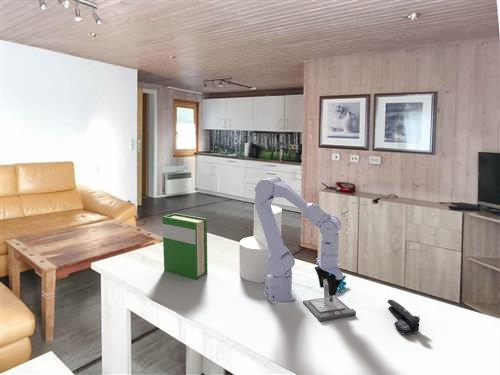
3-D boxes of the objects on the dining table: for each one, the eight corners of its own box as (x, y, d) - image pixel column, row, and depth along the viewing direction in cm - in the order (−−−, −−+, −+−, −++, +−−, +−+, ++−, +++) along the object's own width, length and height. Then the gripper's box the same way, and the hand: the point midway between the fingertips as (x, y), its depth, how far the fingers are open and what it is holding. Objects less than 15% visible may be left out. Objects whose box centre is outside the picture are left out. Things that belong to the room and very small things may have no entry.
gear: (333, 292, 131) (322, 267, 137) (323, 298, 135) (313, 274, 140) (353, 288, 138) (342, 265, 143) (343, 295, 141) (332, 271, 147)
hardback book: (207, 273, 151) (206, 218, 147) (196, 280, 145) (195, 222, 141) (176, 265, 160) (174, 213, 156) (164, 270, 154) (162, 216, 150)
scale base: (320, 322, 114) (320, 316, 114) (302, 302, 127) (302, 298, 126) (355, 316, 118) (356, 311, 118) (335, 298, 130) (335, 293, 130)
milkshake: (318, 301, 125) (319, 274, 123) (332, 300, 126) (334, 273, 124) (322, 307, 120) (323, 279, 119) (337, 306, 121) (339, 278, 120)
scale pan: (320, 313, 118) (320, 311, 118) (309, 302, 125) (309, 300, 125) (345, 309, 121) (345, 307, 121) (333, 298, 128) (333, 297, 128)
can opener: (424, 338, 106) (426, 321, 105) (401, 338, 106) (403, 320, 105) (400, 308, 124) (401, 293, 123) (379, 308, 124) (381, 293, 123)
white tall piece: (271, 263, 162) (272, 203, 158) (287, 279, 146) (288, 212, 141) (234, 268, 157) (234, 206, 152) (246, 284, 141) (247, 215, 136)
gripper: (352, 259, 114) (349, 299, 116) (329, 245, 128) (327, 280, 130) (332, 261, 112) (330, 302, 114) (311, 246, 126) (310, 283, 128)
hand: (327, 291), depth 122 cm, fingers open, 6 cm apart
